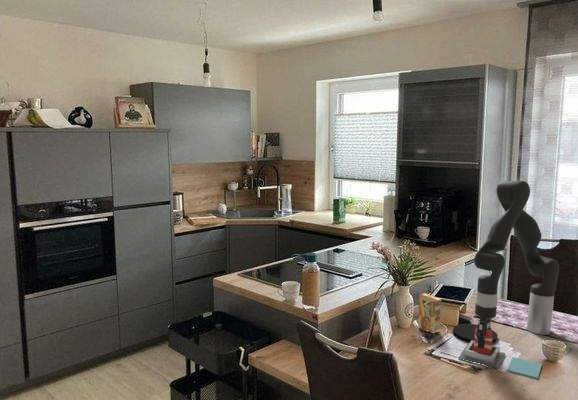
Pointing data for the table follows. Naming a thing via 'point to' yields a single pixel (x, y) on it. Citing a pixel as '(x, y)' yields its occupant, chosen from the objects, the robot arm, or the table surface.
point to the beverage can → (487, 343)
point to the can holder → (483, 356)
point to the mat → (524, 368)
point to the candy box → (429, 312)
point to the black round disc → (469, 332)
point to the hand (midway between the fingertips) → (482, 344)
